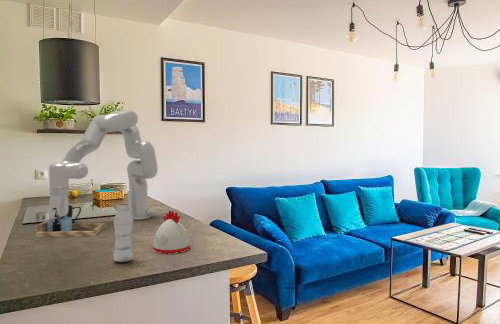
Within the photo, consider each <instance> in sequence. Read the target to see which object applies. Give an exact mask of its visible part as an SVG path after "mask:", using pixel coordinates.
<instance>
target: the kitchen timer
mask: <svg viewBox="0 0 500 324" xmlns="http://www.w3.org/2000/svg"><path fill="white" fill-rule="evenodd" d="M180 218H181V216H180V215H178V212H176V211H175V212H174V211H172V210H169V211H168V212H166V213H165V215H163V220H164V221H163V222H162V223H161V225H160V226H159V227H158V229H157V230H156V233H155V235H154V240H153V242H152V243H153V244H152V249H153V250H155V251H157V252H161V253H176V252H181V251H184V250H187V249H188V248H189V249H190V240H189V237H188V230H187V229H186V228H185V227H184V226H183V224H182V223H181V222H179V220H180ZM189 249H188V250H189ZM188 250H187V251H188Z"/></svg>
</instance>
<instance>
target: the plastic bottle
mask: <svg viewBox="0 0 500 324" xmlns="http://www.w3.org/2000/svg"><path fill="white" fill-rule="evenodd" d="M116 207H117V209H116V211H117V212H116V214H115V216H114V217H113V221H112V222H113V228H114V239H115V240H114V249H113V254H112V255H113V260H114V262H116V263H126V262H130V261H132V259H133V258H134V248H133V242H132V241H133V239H132V238H133V236H132V234H133V225H134V220H133V217H132V215H131V214H130V213H129V203H119V204H117V206H116Z"/></svg>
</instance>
